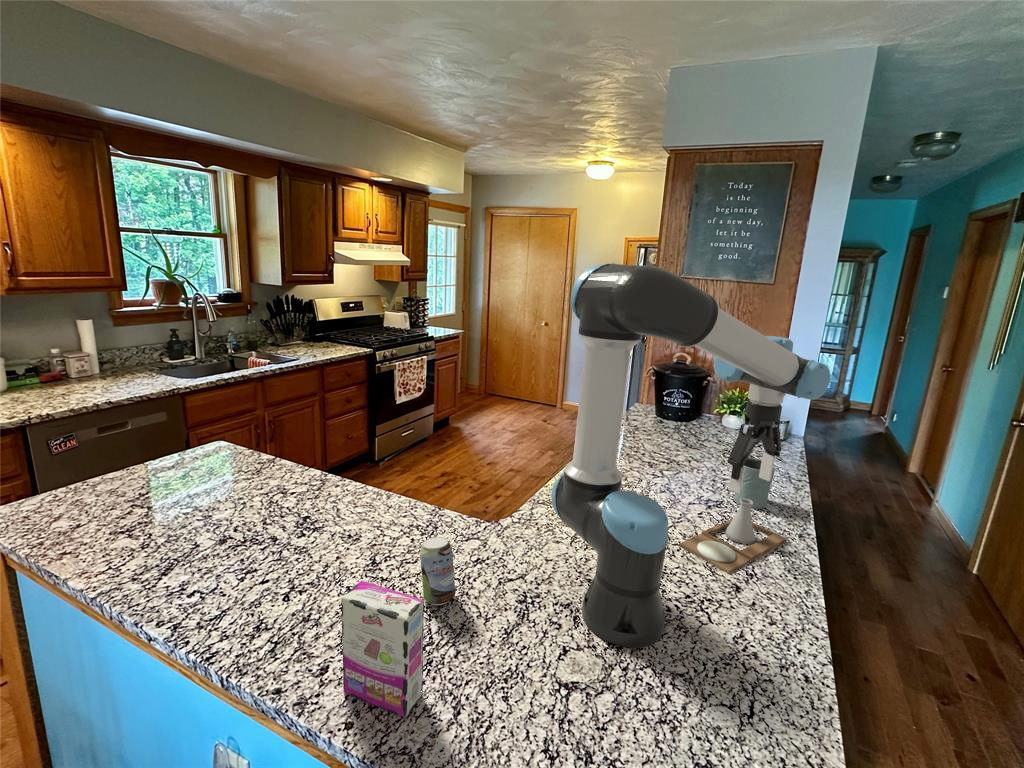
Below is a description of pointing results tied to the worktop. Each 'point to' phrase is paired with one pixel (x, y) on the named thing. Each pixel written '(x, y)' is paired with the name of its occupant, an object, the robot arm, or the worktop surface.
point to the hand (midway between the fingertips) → (750, 484)
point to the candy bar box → (383, 647)
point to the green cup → (754, 484)
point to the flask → (742, 524)
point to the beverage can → (437, 570)
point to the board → (730, 548)
